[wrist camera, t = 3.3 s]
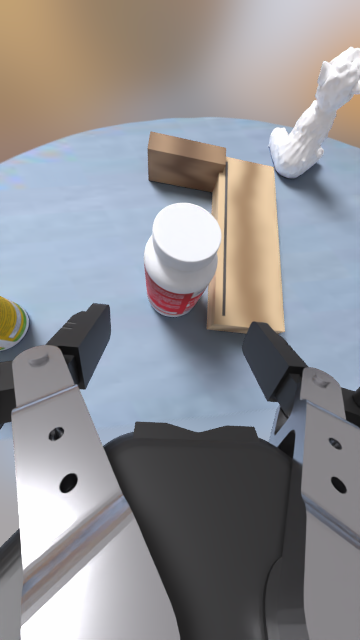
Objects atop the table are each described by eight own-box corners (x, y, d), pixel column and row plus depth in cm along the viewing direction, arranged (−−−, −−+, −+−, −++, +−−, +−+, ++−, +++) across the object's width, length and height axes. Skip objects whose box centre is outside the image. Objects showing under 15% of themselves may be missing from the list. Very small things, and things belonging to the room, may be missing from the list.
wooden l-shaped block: (261, 186, 29) (278, 159, 25) (268, 335, 23) (291, 329, 19) (151, 164, 27) (150, 131, 23) (126, 320, 21) (120, 310, 17)
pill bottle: (186, 326, 22) (215, 288, 11) (138, 306, 22) (123, 248, 11) (203, 283, 24) (243, 215, 13) (159, 264, 23) (163, 179, 13)
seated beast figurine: (317, 160, 32) (406, 47, 21) (308, 194, 30) (403, 88, 19) (268, 138, 32) (332, 11, 21) (256, 170, 30) (320, 47, 18)
